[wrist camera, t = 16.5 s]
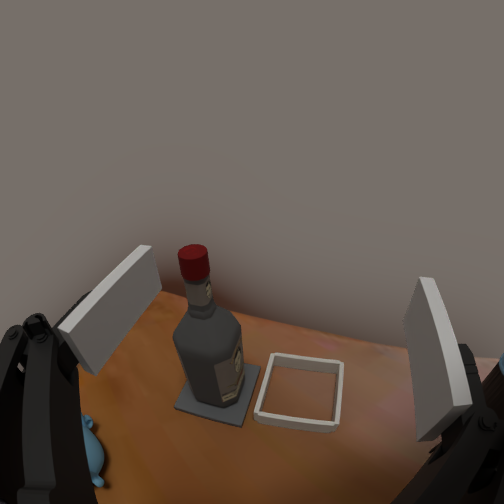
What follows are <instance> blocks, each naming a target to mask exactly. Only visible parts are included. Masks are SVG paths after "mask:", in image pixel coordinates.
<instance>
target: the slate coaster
mask: <svg viewBox="0 0 504 504" xmlns="http://www.w3.org/2000/svg"><path fill="white" fill-rule="evenodd" d="M260 369H261V366H256V365H251V364H246V363H244V371H245V381H244V384H243V387H242V390H241V392H240V395H239V398H238V401H237V402H235V403H233V404H231V405H228V406H226V407H220V406H216V405H212V404H208V403H205V402H201V401H198V400H196V398H195V396H194V395H193V393H192V391H191V389H190V386H189V383H188V381H186V383H185V385H184V387H183V389H182V391H181V393H180V395H179V397H178V399H177V401H176V403H175V405H174V408H175V409H176V410H179V411H182V412H186V413H189V414H192V415H195V416H198V417H202V418H205V419H209V420H212V421H216V422H220V423H224V424H228V425H232V426H236V427H240V428H242V425H243V422H244V419H245V416H246V413H247V410H248V407H249V404H250V401H251V398H252V395H253V392H254V388H255V385H256V382H257V379H258V376H259V372H260Z"/></svg>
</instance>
